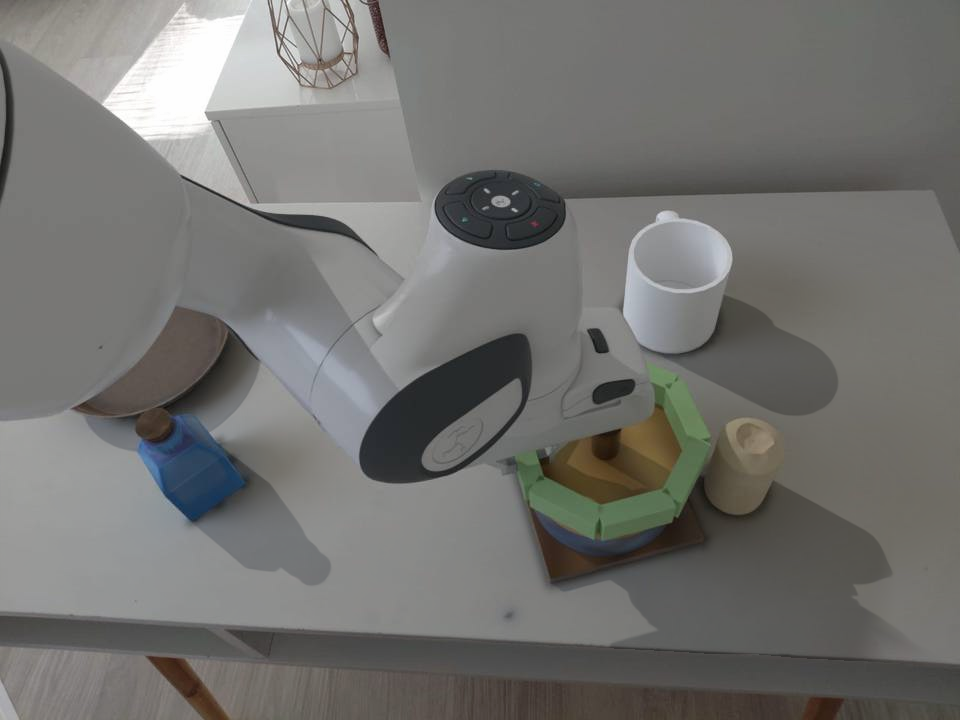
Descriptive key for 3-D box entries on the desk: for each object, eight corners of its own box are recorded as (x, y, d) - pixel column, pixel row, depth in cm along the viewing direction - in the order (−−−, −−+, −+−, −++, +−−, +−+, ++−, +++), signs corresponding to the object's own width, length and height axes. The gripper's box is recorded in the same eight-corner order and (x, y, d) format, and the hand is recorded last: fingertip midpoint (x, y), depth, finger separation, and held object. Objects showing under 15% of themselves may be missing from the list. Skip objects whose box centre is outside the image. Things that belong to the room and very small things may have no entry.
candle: (772, 477, 72) (798, 424, 63) (752, 526, 69) (777, 477, 61) (715, 453, 74) (734, 399, 65) (694, 499, 71) (711, 449, 63)
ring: (541, 557, 60) (540, 543, 58) (493, 395, 69) (491, 377, 67) (730, 507, 61) (737, 491, 58) (658, 353, 70) (662, 334, 68)
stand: (550, 583, 68) (547, 527, 57) (509, 447, 76) (500, 375, 65) (702, 542, 69) (727, 479, 58) (646, 411, 77) (658, 335, 66)
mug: (724, 351, 80) (743, 288, 72) (629, 359, 81) (636, 297, 72) (701, 263, 87) (715, 196, 79) (613, 270, 88) (618, 205, 80)
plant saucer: (129, 271, 95) (117, 253, 93) (270, 306, 90) (261, 288, 87) (23, 405, 85) (5, 389, 82) (175, 454, 79) (161, 439, 77)
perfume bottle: (192, 522, 75) (135, 467, 65) (165, 480, 78) (107, 421, 68) (246, 484, 76) (199, 425, 67) (217, 444, 80) (168, 382, 70)
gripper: (377, 446, 50) (412, 527, 61) (672, 371, 51) (653, 464, 62) (364, 370, 54) (399, 460, 65) (639, 302, 55) (627, 402, 66)
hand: (526, 462), depth 64 cm, fingers closed on ring, 2 cm apart
